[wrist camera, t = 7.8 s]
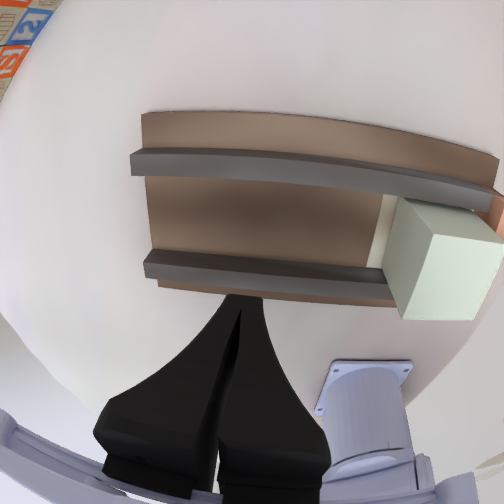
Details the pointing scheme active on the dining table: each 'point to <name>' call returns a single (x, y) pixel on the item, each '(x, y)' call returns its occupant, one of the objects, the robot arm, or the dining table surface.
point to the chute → (292, 201)
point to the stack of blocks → (20, 32)
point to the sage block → (440, 260)
